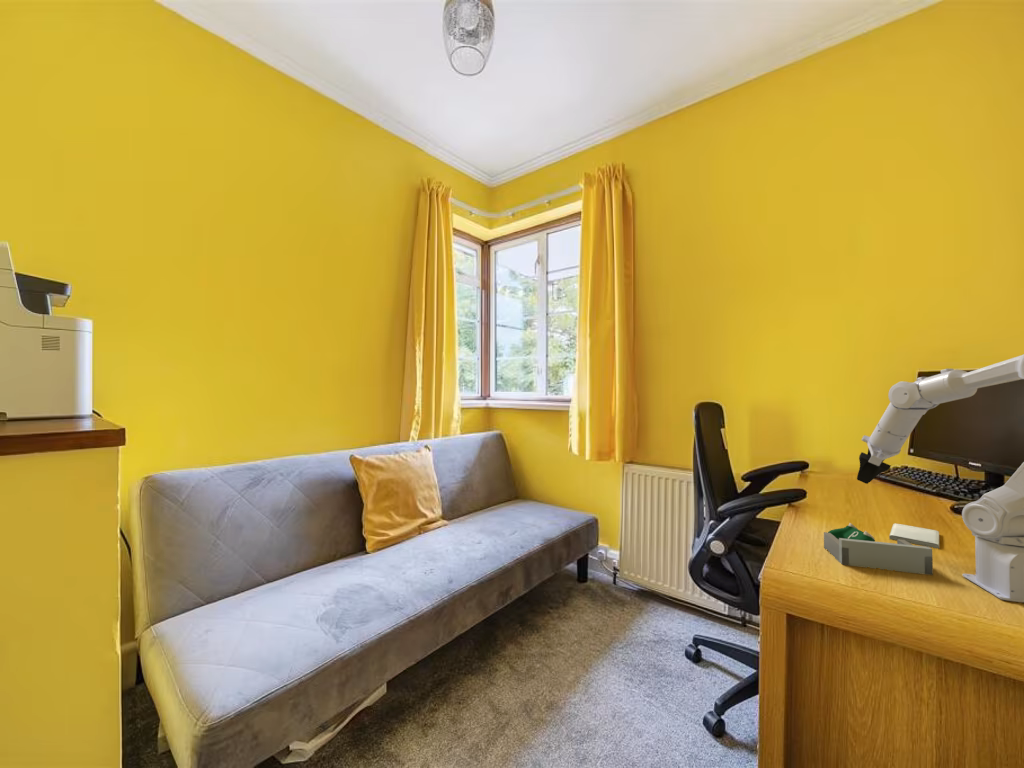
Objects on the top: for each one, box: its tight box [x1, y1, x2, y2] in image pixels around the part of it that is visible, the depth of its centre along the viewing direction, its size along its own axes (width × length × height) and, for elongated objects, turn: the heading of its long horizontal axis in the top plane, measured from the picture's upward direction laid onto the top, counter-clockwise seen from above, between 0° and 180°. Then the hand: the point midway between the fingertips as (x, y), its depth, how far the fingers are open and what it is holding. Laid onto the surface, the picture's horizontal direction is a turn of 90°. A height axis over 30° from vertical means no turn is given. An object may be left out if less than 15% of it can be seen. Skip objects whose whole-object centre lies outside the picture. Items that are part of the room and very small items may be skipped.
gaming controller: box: [827, 522, 876, 542], centre depth 92 cm, size 9×4×6 cm
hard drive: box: [888, 523, 940, 550], centre depth 97 cm, size 2×8×12 cm
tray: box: [823, 531, 934, 576], centre depth 84 cm, size 9×14×5 cm, turn 70°
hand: (865, 474), depth 98 cm, fingers open, 7 cm apart
